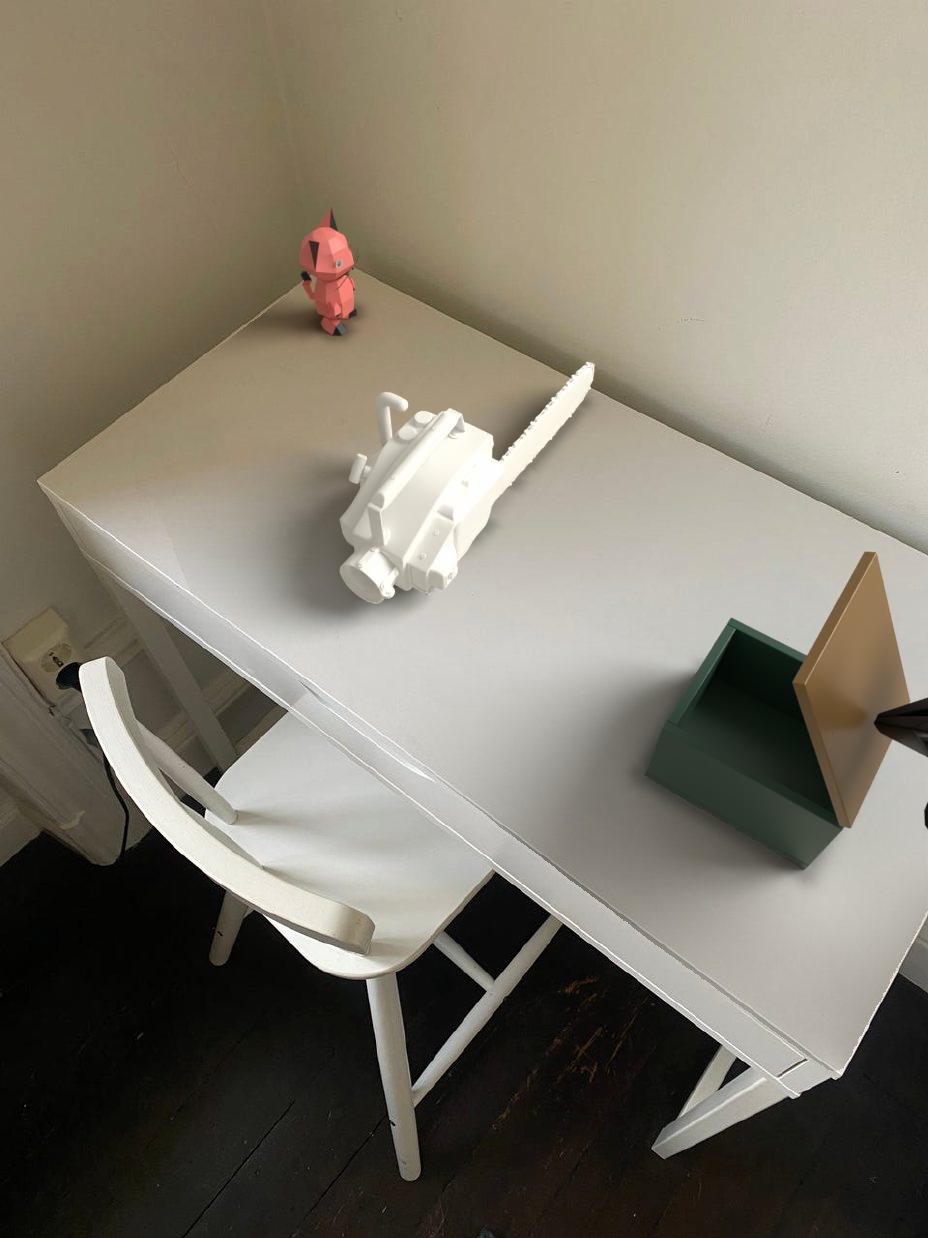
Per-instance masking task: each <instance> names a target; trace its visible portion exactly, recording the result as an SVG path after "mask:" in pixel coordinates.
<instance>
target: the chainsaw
mask: <svg viewBox="0 0 928 1238" xmlns="http://www.w3.org/2000/svg"><path fill="white" fill-rule="evenodd" d="M595 366H596V364H595V363H593V362H591V361H586V362H585V364H584V365H582V366H581V368H579V369H577V370H576V371H575V374H571V376H570V377H571V378H570V379H569V380H568V381H566V382H565V384H564V386H562V387H561V389H560V390H559V391H557V392H556V393H555V396H552V397H551V398H550V400H551V401H549V402H548V404H546V405H545V407H544V408H543V410H541V412H540V413H539V414H538V415H536V417H535V418H534V420H531V421H530V422H529V424H530V425H529V426H528V427H527V428H525V429H524V430H523V433H521V435H520V436H519V438H518V439H517V440H515V441H514V442H513V443H512V446H509V447H508V448H507V451H506V452H505V454H503V455H502V456H501V458H500V460H498V459H495V458H493V448H494V446H495V444H494V436H493V434H490V433H489V432H486V431H485V430H482V429H480V428H479V427H477V426H474V425H472V424H470V423H468V422H467V421H464V416H463V413H461V412H459V411H457V410H455V409H453V408H451V407H449V408H448V409H447V410H444V411H439V412H438V414H435V413H432V412H429V411H427V410H420V411H417V412H416V413H415V414H414V415H413V416H412V417H410V418H409V419H408V420H407V421H406V422H405V423H404V424H403V425H402V426H401V427H400V428H399V429H398V430H397V431H396V432H395V434H393V429H392V418H391V409H393V410H394V411H397V412H399V413H404V412H406V411H407V410H408V408H409V403H408V400H406V399H405V398H404V397H401V396H400V395H398V394H395V393H393V392H389V391H384V392H380V393H379V394H378V395H377V396H376V398H375V412H376V419H377V420H376V421H377V427H378V435H379V440H380V441H379V442H380V445H381V446H382V447H380V449H378V450H377V451H375V452H373V454H372V455H371V456H370V457H369V458H368V456H367V455H365V454H362V453H357V454H356V455H355V459H354V461H353V464H352V465H351V471H350V474H349V476H348V481H349V482H350V483H352V484H355V485H357V484H359V487H360V488H359V490H358V491H357V494H356V495H355V497H354V499H353V500H352V502H351V504H350V505H349V506H348V508H347V509H346V511H345V512H344V513H343V514H342V515H341V517H340V518H339V523H340V527H341V531H342V535H343V537H344V540H345V541H346V543H348V544H349V545H350V546H352V547H353V550H354V552H352V554H351V555H350V556H349V557H347V559H346V560H345V561H344V562H343V563H342V564H341V565H340V567H339V574H340V576H341V577H340V578H341V579H342V580H343V582H344V584H346V586H347V588H349V589H350V590H351V591H352V592H353V593H354V594H355V595H356V596H357V597H359V598H361V599H362V600H364V601H365V602H368V603H370V604H375V605H379V604H381V603H382V602H383V601H384V600H386V599H387V600H388V599H392V598H393V596H394V595H395V592H396V591H395V588H394V586H396V587H397V588H400V589H401V590H402V591H405V592H409V591H411V590H412V589H413V588H414V589H415V590H417V591H419V592H420V593H422V594H424V595H425V596H430V595H431V594H432V593H433V592H434V591H435V589H437V590H440V591H444V590H445V589H446V588H447V587H448V586H449V585H450V584H451V582H452V581H453V580H454V579H455V578H456V576H457V575H458V570H459V569H458V568H459V567H458V563H459V561H460V560H461V559H462V558H463V557H464V555H465V554H466V553H467V552H468V551H469V548H471V545H472V543H473V542H474V540H475V538H476V537H477V536H478V535H479V534H480V532H482V531H483V530H484V528H485V527H486V525H487V523H488V521H489V518H490V516H491V512H492V507H493V505H494V504H495V502H496V501H497V500H498V499H499V497H500V496H501V495H503V494H504V493H505V490H506V489H508V488H509V487H511V486H512V485H513V482H515V481H516V479H517V478H518V476H519V475H520V474H521V473H522V472H523V471H525V469H526V467H527V466H528V465H529V464H531V463H533V460H534V459H535V458H537V455H538V454H539V453H540V451H542V450H543V449H544V448H545V447H546V445H547V444H548V443H549V442H550V441H552V440H553V437H555V435H556V434H557V432H559V430H560V429H561V427H562V426H565V423H566V422H567V420H568V419H569V418H572V416H573V415H572V414H574V413H575V412H576V410H577V408H578V407H579V406H580V405H581V404H582V402H583V401H584V399H585V397H586V396H587V394H588V392H589V391H590V390H591V388H592V387H591V386H592V384H593V381H594V375H595ZM390 408H391V409H390Z"/></svg>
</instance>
